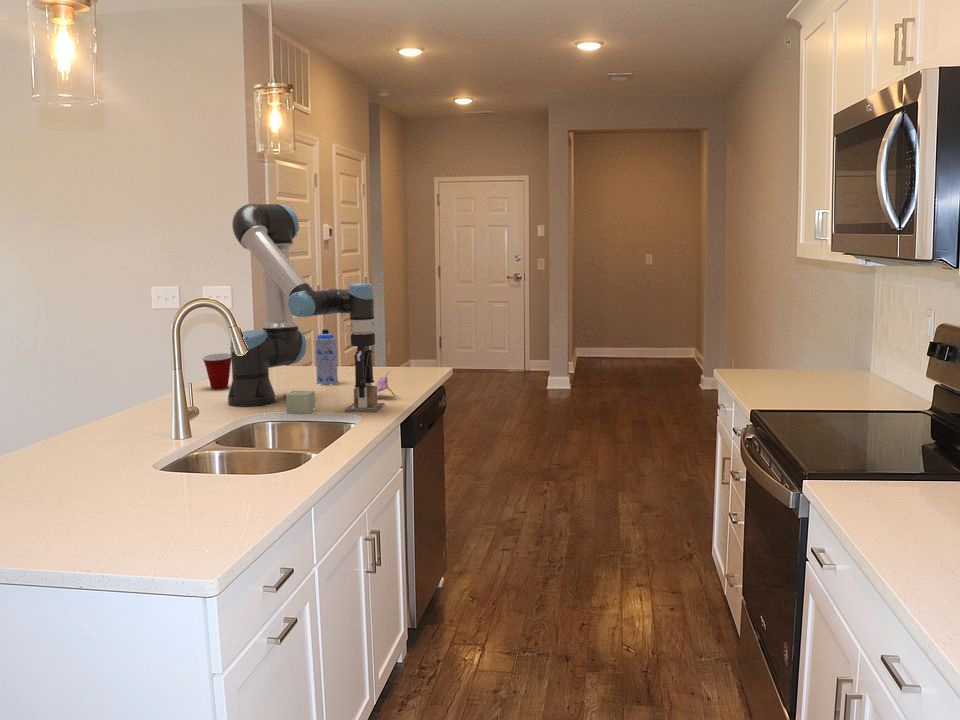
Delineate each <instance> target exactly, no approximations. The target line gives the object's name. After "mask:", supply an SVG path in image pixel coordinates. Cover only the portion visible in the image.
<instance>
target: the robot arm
mask: <svg viewBox="0 0 960 720" xmlns="http://www.w3.org/2000/svg"><path fill="white" fill-rule="evenodd" d="M231 225H232V232H233V235H234V237H235V238H236V240H237V241H238V243H239V244H240V245H241V247H242V248H243V249H245V250H249V252H251V254H252V256H254V257H255V258H256V260H257V261H258V263H259V264H260V265H261V266H262V267H263V279H264V280H263V281H264V296H265V309H266V323H265V324H264V325H263V326H262V329H251V330H244V331H241V332H242V334H243V337H244V340H245V342H246V344H247V346H248V352H247V353H246V354H245V355H243V356H237V355H236V354H235V351H234V348H233V343H232V340H231V339H230V350H229V351H230V354H231V376H232V377H231V378H232V382H231V385H230V389H229V392H228V394H227V395H228V396H227V403H228V405H230V406H235V407H236V406H237V407H253V406H254V407H256V406H262V405H269V404H272V403H275V402H276V394H275V393H276V392H275V391H274V388H273V386H272V385H273V384H272V382H271V380H270V375H269V372H270V370H269V369H270V368H275V367H281V366H290V365H292V364H296V363H298V362H300V361H301V360H302V358H303V357H304V356H305V355H306V351H307V340H306V336H304V333H303V332H302V330H299V325H298V324H297V323H296V322H295V321H294V317H297V318H300V317H301V318H307V317H308V318H309V317H314V316H322V315H332V314H349V331H350V332H351V334H350V345H351V346H353V347H357V348H356V352H355V354H354V356H353V357H354V368H355V371H354V373H355V374H354V375H355V378H354V379H355V384H354V388H356V387H358V408H367V387H365V386H373V383H375V379H374V374H373V373H374V370H373V349H370V347H371V346H372V347H373V346H375V344H376V334H375V333H374V332H375V326H376V325H377V323H376V321H375V308H374V307H375V306H374V304H375V302H374V298H375V295H374V289H373V288H374V287H373V285H372V284H371V283H370V282H362V283H361V282H357V283H350V284H349V285H348V289H341V288H340V289H339V288H328V289H327V288H326V289H324V290H314V289H313V288H312V287H311V285H310V284H309V283H308V282H307V281H306V279H305V278H304V277H303V276H302V275H301V273H300V272H299V271H298V270H297V268H296V267H295V266H294V265H293V264H292V263H291V261H290V256H289V255H290V254H289V253H290V252H289V250H290V248H291V247H292V246H293V243H294V242H293V239H295V238H296V237H297V235H298V232H299V228H300V225H299V219H298V216H297V214H296V212H295V211H294V210H293V209H292V208H291V207H289V206H288V205H285V204H279V203H273V204H272V203H258V204H257V203H249V204H245V205H243V206H241V207H240V208H238V210H237V211H236V212H235V213H234V216H233V218H232V224H231Z"/></svg>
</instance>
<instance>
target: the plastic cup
mask: <svg viewBox="0 0 960 720" xmlns="http://www.w3.org/2000/svg"><path fill="white" fill-rule="evenodd" d="M201 359H202V361H203V362H204V366H205V369H206V372H207V373H206V374H207V376H208V380H209V384H210V385H209V386H210V388H211V390H223V389H228V387H229V379H230V372H231V365H232V359H231V353H228V352H224V353H222V352H220V353H219V352H218V353H212V354H207V355H203V356H202V357H201Z"/></svg>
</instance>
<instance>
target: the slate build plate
mask: <svg viewBox="0 0 960 720" xmlns="http://www.w3.org/2000/svg"><path fill="white" fill-rule="evenodd" d="M383 405H384V406H385V402H377V405H376V406H375V407H374V408H354V402H353V403H352V404H350V405H349V406H347V407H346V408H345V409H344V412H345V411H346V412H345V413H377V412H378V411H379V410H381V409H382V408H383V407H384V406H383ZM377 410H378V411H377ZM376 411H377V412H376Z"/></svg>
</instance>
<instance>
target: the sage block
mask: <svg viewBox="0 0 960 720" xmlns="http://www.w3.org/2000/svg"><path fill="white" fill-rule="evenodd" d="M315 394H316V393H315V390H291V391H290V392H288V393H287V394H285V398H286V399H285V401H286V414H301V415H302V414H303V415H304V414H311V413H312V412H313V411H314V410H313V409H314V408H315V409H316V395H315Z"/></svg>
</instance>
